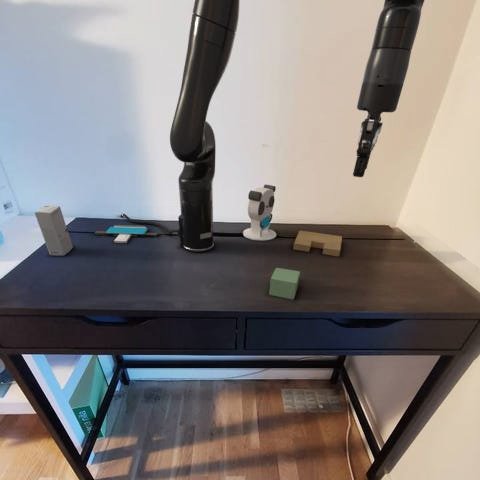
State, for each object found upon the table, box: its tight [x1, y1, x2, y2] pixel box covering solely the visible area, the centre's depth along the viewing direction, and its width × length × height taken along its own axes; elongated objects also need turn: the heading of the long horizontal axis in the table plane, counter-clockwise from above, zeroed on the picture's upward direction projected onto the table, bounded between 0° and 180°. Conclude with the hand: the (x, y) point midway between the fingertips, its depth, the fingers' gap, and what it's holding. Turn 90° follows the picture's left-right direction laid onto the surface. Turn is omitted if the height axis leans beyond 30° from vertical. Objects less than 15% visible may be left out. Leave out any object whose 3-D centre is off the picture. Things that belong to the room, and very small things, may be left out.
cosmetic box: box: [34, 205, 74, 257], centre depth 86 cm, size 6×4×12 cm
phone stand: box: [94, 224, 159, 244], centre depth 100 cm, size 20×12×2 cm, turn 90°
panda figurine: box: [242, 184, 277, 242], centre depth 102 cm, size 12×11×15 cm
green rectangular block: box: [268, 267, 301, 300], centre depth 77 cm, size 6×10×4 cm, turn 163°
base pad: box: [292, 230, 343, 257], centre depth 100 cm, size 14×12×2 cm
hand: (359, 172), depth 69 cm, fingers open, 8 cm apart
